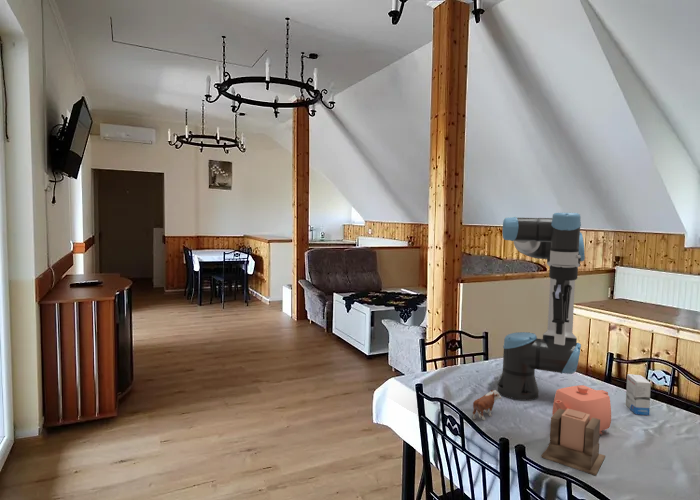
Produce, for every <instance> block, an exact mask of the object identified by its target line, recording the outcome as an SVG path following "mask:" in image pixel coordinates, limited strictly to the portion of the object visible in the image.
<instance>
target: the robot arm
mask: <svg viewBox="0 0 700 500" xmlns="http://www.w3.org/2000/svg"><path fill="white" fill-rule="evenodd" d="M581 218H582V217H581V214H580V213H579V212H554V213H553V214H552V217H518V216H513V217H505V218H504V219H503V221H502V233H501V235H502V239H503V240H505V241H511V242H513V245H514V248H515V249H516V250H517V252H519V253H520V254H522V255H524V256H526V257H529V258H532V259H538V260H540V259H541V260H546V264H547V266H548V267H549V271H548V277H549V278H550V279H549V295H548V296H549V297H548V299H549V300H548V316H547V318H548V319H547V330H546V331H545V332H544V333H543V334H542V338H538V336H537V335H536V333H533V332H527V331H526V332H525V331H523V332H522V331H520V332H517V331H516V332H512V333H508V334H507V335H505V337H504V339H503V340H504V341H503V345H502V347H503V353H502V355H503V358H502V372H501V374H500V377H499V380H498V381H497V385H496V391H497V392H498V393H499V394H500V396H501V395H502V396H503V397H505V398H508V399H513V400H518V401H532V400H535V399H538V398H539V392H540V389H539V386H538V383H537V379H536V375H535V372H536V370H538V371H544V372H545V371H546V372H551V373H558V374H567V375H574V374H575V373H576V372H577V369H578V364H579V361H580V356H581V348H582V344H581V343H580V342H578V341H577V340H578V338H577V336H576V335H575V334H574V333H573V332H574V331H573V329H574V307H575V286H576V280H578V276H579V275H578V273H579V272H578V271H579V267H581V262H583V261H585V258H586V257H585V254H586V253H585V243H584V237H583V233H582V232H581V227H582V224H581V221H582V220H581Z"/></svg>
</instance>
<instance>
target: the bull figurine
mask: <svg viewBox="0 0 700 500" xmlns="http://www.w3.org/2000/svg"><path fill="white" fill-rule="evenodd" d="M498 399H499V400H501V399H502V396H501V394H500V393H499V392H498V391H497V389H490V391H488V393H486V394H484V395H482V396H480V397H478V398H477V399H475V400H473V403H472V408H473V411H472V419H473V420H476V419H477V418H476V413H477V414H478V417H479V419H481V420H483V421H486V417H485V416H484V413H485V414H488V416H490V417H492V416H493V415H492V411H493V407H494V405H495V401H497V400H498Z"/></svg>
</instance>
